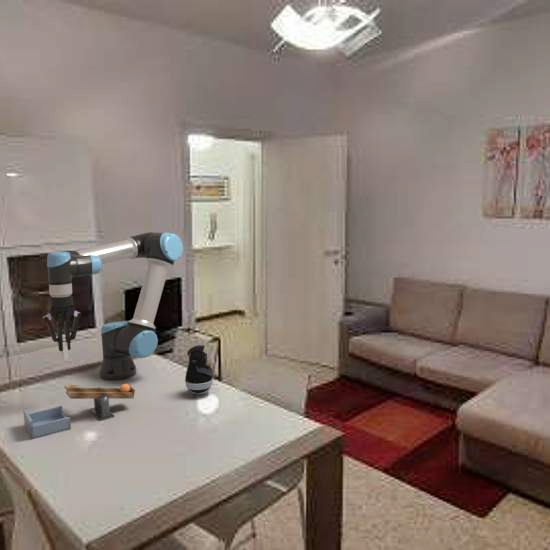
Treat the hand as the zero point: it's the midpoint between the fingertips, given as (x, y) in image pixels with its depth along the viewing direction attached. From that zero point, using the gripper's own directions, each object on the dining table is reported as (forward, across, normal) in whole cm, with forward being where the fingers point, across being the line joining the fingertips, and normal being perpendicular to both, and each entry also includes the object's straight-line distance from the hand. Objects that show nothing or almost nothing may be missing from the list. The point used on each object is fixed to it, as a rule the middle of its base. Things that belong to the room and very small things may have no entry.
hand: (65, 359), depth 180 cm
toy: (+18, -44, +18) cm, 51 cm away
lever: (+11, -8, +10) cm, 17 cm away
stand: (+18, -8, +14) cm, 24 cm away
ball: (+11, -17, +14) cm, 24 cm away
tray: (+18, +10, +14) cm, 25 cm away
